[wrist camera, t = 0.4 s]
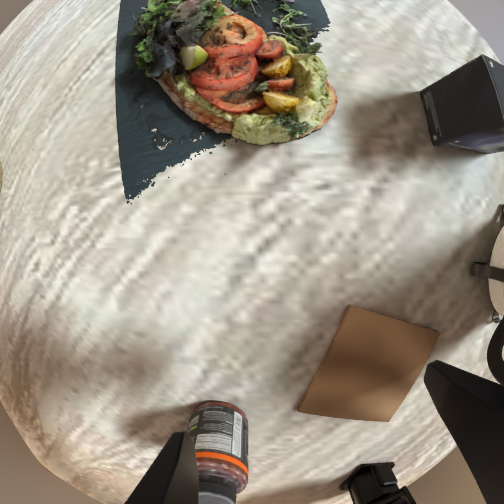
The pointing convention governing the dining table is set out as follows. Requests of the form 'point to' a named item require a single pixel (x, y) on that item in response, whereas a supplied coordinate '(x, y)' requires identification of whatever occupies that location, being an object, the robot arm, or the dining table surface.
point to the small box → (468, 107)
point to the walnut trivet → (368, 367)
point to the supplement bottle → (220, 451)
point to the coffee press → (495, 303)
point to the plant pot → (0, 176)
